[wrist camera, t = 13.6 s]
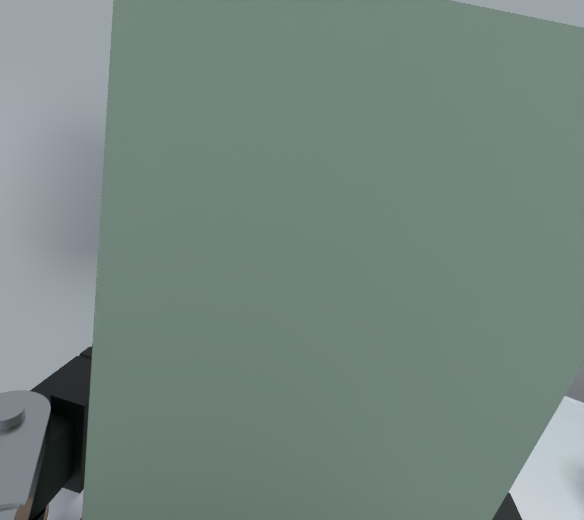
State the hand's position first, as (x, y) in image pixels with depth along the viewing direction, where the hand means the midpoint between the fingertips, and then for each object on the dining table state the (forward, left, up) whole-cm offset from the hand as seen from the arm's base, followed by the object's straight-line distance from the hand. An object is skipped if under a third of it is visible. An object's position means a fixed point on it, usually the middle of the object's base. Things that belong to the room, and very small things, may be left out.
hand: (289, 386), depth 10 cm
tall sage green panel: (+2, +1, -11) cm, 11 cm away
